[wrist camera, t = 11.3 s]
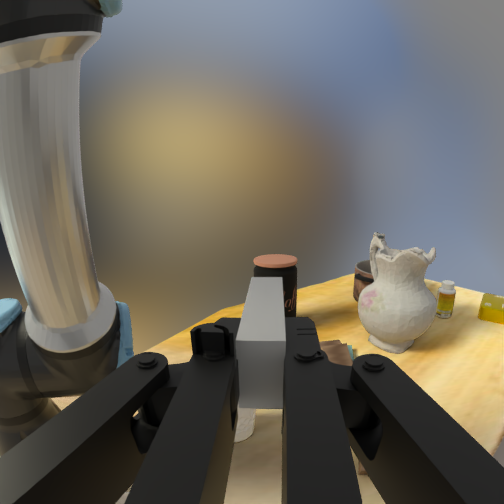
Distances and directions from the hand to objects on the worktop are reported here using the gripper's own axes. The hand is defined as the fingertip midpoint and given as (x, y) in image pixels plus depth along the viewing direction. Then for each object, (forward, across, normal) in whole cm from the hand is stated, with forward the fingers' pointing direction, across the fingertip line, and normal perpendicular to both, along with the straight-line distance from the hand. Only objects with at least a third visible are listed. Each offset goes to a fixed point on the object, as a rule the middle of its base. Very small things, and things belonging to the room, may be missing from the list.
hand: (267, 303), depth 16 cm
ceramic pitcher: (+51, +28, -30) cm, 66 cm away
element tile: (+57, +71, -30) cm, 96 cm away
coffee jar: (+60, 0, -30) cm, 67 cm away
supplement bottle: (+62, +50, -30) cm, 85 cm away
